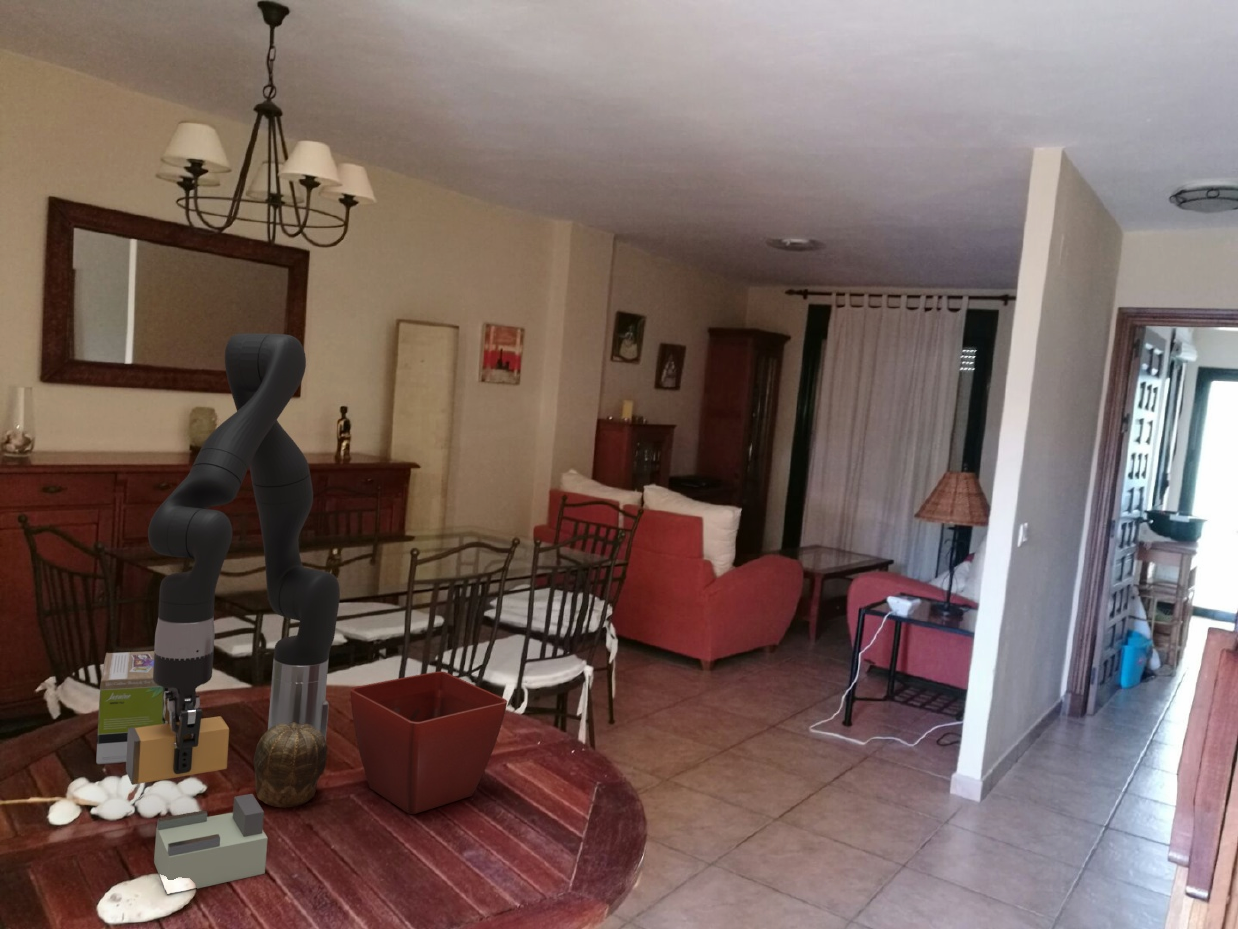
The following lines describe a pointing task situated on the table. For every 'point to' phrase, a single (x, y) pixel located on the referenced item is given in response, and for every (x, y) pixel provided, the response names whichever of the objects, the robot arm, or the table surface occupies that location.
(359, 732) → the plant pot
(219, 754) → the orange rectangular block
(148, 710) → the tea box
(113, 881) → the table surface
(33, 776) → the table surface
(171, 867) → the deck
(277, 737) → the shell
